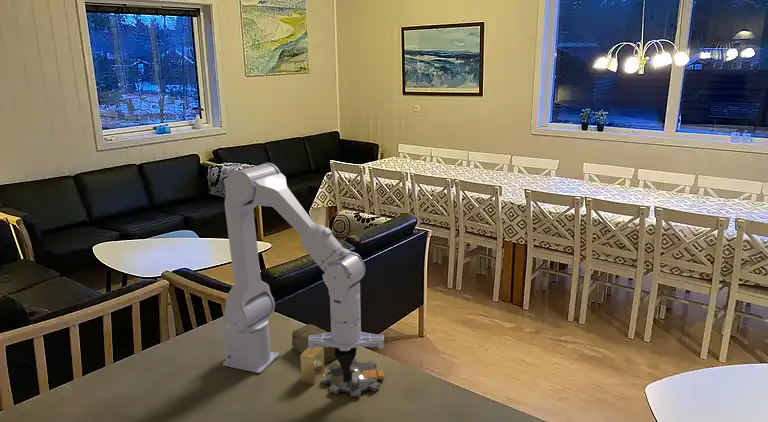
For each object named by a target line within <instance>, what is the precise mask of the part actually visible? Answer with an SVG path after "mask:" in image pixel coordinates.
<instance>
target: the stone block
mask: <svg viewBox="0 0 768 422" xmlns="http://www.w3.org/2000/svg"><path fill="white" fill-rule="evenodd" d="M324 333H330V332H329V331H326V330H325V329H321V328H320V327H319V326H317V325H314V324H306V325H303V326H301V327H299V328H297V329H295V330H292V332H291V334H292V339H291V347H293V349H294V350H295V351H297V352H299V353H300V354H302V353H303V352H304V351H305V350H306V349H307V348H308V338H309V335H318V334H324ZM335 359H336V357H335V347H324V364H327V363H329V362H331V361H333V360H335Z"/></svg>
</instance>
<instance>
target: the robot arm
mask: <svg viewBox="0 0 768 422" xmlns="http://www.w3.org/2000/svg"><path fill="white" fill-rule="evenodd" d="M223 182H224V190H225V192H224V193H225V198H224V211H225V218H226V227H227V233H228V234H227V235H228V236H227V237H228V241H229V243H228V244H229V251H230V258H231V266H232V275H233V282H234V283H233V285H232V287H231V289H230V290H229V292H228V293H227V295H226V296H225V302H226V303H225V308H224V312H223V313H224V319H225V321H226V326H225V328H224V329H223V334H222V341H223V351H224V352H223V353H224V359H225V360H224V362H223V363H222V366H223V367H228V368H233V369H238V370H243V371H247V372H252V373H257V374H261V373H262V372H264V370H266V368H267V367H268V366H269V365H270V364H272V363H273V362H274V361H276V359H277V358H278V357H279V356H280V354H279V352H274V351H271V341H270V327H269V321H270V320H271V314H272V313H273V312H274V311H275V308H276V306H275V305H276V304H275V299H274V297H273V295H272V293H271V288H270V285H269V284H268V283H267V282H266V281H265V282H264V281H263V280H262V277H261V268H260V260H259V252H258V251H259V250H258V249H259V248H258V241H257V232H256V231H257V230H256V223H255V213H254V209H255V208H256V207H257V206H259V207H260V206H261V207H262V206H263V207H271V208H273V209H274V210H275V211H276V212H277V213H278V214H279V215H280V216H281V217H282V218H283V219H284V220H285V221H286V222H287V223H288V224H289V225H290V226H291V227H292V228H293V229H294V230H295V231H296V232H297V234H299V235H300V245H301V247H302V248H303V249H304V250H305V251H306V252H307V254H308V255H309V256H310V257H311V258H312V259H313V261H314V262H315V263H316V264H317V266H318V267H319V268H320V269H321V270H322V271H323V272H324V273H323V274H322V279H323V282H324V284H325V285H326V287H327V289H328V296H329V304H330V306H329V309H330V332H329V333H324V334H318V335H309V338H308V349H314V347H335V357H336V358H335V359H336V360H337V361H338V363H339V365H341V367H342V369H343V372H344V373H343V382H350V374H349V369H350V366H351V364H352V362H353V360H354V359H356V358H355V357H356V355H357V348H375V347H376V348H377V349H384V347H385V343H384V341H385V337H384V335H385V334H378V333H377V334H375V333H369V332H364V331H362V327H361V324H362V321H361V318H362V317H361V316H362V315H361V313H362V311H361V280H362V278H364V276H365V275H366V274H365V273H366V269H367V268H366V265H365V262H364V260H363V259H362V257H361V255H360V254H358V252H357V253H356V252H355V251H354V252H353V251H350V250H349V249H348V248H345V247H344V246H343V245H342V244H341V243H340V242H339V240H337V238H336V237H335V236H334V235H333V234H332V233H333V232H332V230H331V229H330V228H329V227H326V225H324V224H319V223H315V222H314V221H313V219H312V218H311V216H310V215H309V213H307V211H306V210H305V209H304V207H303V206H302V205H301V204H300V201H299V200H298V199H297V197H296V196H295V195H294V193H292V191H291V190H290V188H289V187H288V184H287V177H286V176H285V175H284V174H283V173H281V171H280V169H279V168H278V167H277V166H276V165H275V164H274V163H272V162H265V163H262V164H260V165H255V166H250V167H247V168H243V169H238V170H233V171H232V172H231V173H230V174H229V175H228V176H227V177H225V179H224V181H223Z"/></svg>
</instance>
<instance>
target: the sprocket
mask: <svg viewBox="0 0 768 422" xmlns="http://www.w3.org/2000/svg"><path fill="white" fill-rule="evenodd" d="M377 367H378V365H377V363H376V362H374V361H371V360H368V361H367V362H361V361H358V359H357V358H354V360H353V362H352V364H351V366H350V369H349V374H350V382H343V373H344V372H343V369H342V367H341V365H340V364H338V363H336V362H335V363H333V364H332V365H329V366H328V372H329V373H327V374H326V373H324V374H323V375H322V377H323V379H322V383H323V384H330V386H329V387H328V391H329V392H331V393H332V394H334V395H339V393H341V392H342V393H347V394H349V395H350V396H349V397H350V398H352V397H353V398H354V397H361V396H362V395H361V393H362V392H366V391H368V390H370V391H372V392H376V390H378V389H380V388H381V383H380V382H378V381H379V380H385V372H384V370H382V369H381V370H377V369H376V368H377Z"/></svg>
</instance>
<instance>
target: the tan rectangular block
mask: <svg viewBox="0 0 768 422" xmlns="http://www.w3.org/2000/svg"><path fill="white" fill-rule="evenodd" d="M325 367H326V366H325V363H324V347H314V349H308V348H307V349H306V350H305V351H304V352H303V353H300V370H301V382H306V383H309V384H313V385H316V383H317V382H318V381H319V380H320V379H321V378H322V377H323V375H325V374H326V372H325V371H326V369H325Z"/></svg>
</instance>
